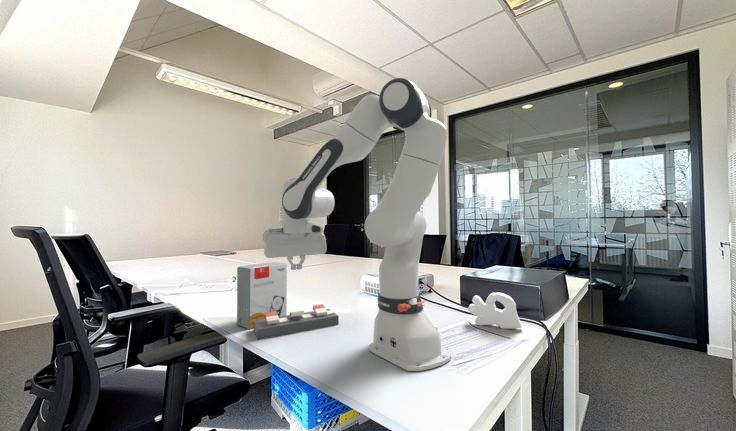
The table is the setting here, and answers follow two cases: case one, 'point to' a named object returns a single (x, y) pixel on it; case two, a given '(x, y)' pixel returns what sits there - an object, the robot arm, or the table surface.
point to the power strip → (294, 324)
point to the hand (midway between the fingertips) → (296, 269)
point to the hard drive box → (261, 292)
